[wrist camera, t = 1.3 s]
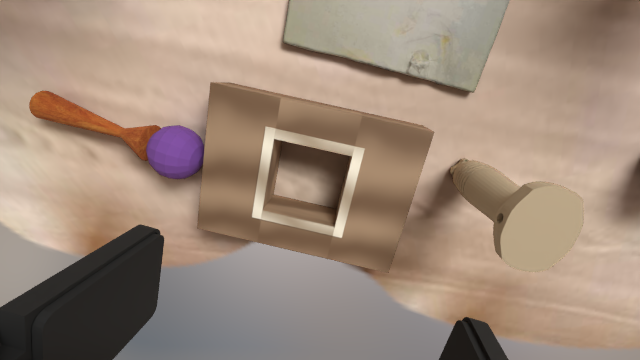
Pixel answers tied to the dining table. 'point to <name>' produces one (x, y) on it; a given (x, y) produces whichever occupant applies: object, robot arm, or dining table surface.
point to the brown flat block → (298, 216)
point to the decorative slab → (402, 35)
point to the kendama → (130, 136)
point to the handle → (522, 215)
